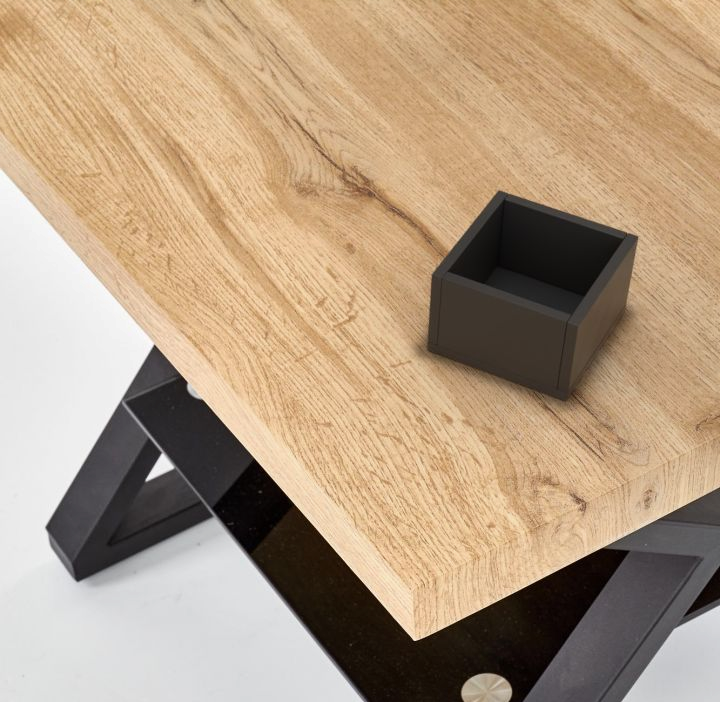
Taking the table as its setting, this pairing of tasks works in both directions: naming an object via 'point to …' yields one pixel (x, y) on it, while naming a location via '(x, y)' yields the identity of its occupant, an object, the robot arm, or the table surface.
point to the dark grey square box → (530, 293)
